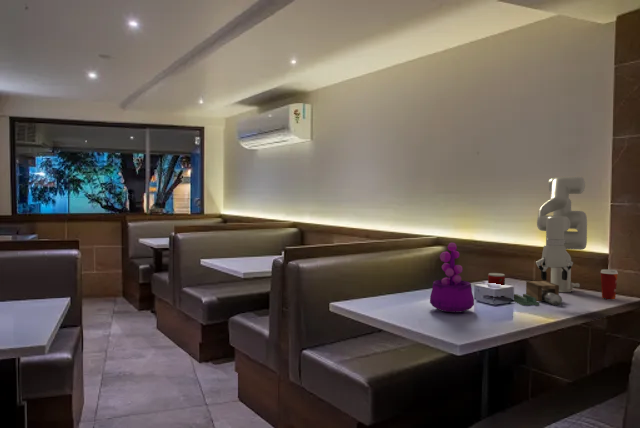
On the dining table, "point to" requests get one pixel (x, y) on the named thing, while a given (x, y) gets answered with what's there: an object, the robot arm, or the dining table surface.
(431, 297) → the decorative plant
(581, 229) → the robot arm
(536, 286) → the wooden box
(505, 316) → the dining table surface
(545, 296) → the grey oblong lump
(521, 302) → the cradle
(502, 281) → the canned food
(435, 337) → the dining table surface
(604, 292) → the paper cup
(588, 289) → the dining table surface
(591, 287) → the dining table surface
